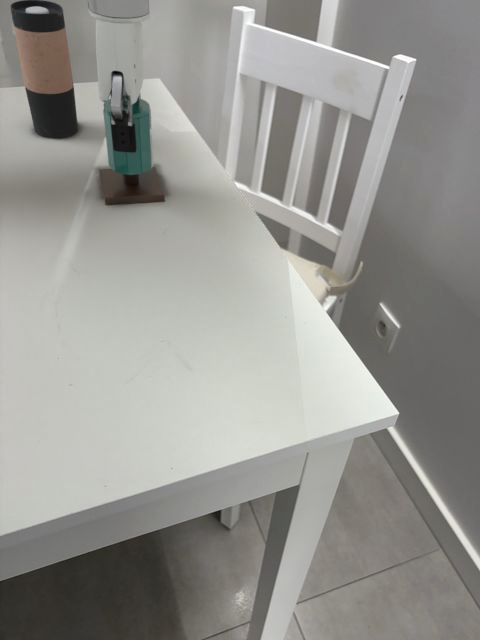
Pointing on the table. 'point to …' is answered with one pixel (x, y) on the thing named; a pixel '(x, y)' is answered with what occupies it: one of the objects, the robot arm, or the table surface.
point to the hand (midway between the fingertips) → (128, 138)
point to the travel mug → (46, 67)
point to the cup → (143, 155)
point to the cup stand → (131, 187)
